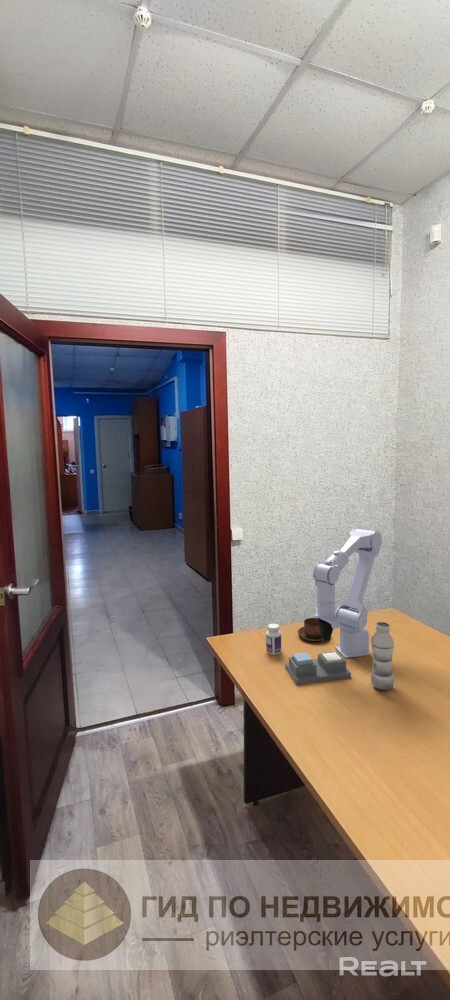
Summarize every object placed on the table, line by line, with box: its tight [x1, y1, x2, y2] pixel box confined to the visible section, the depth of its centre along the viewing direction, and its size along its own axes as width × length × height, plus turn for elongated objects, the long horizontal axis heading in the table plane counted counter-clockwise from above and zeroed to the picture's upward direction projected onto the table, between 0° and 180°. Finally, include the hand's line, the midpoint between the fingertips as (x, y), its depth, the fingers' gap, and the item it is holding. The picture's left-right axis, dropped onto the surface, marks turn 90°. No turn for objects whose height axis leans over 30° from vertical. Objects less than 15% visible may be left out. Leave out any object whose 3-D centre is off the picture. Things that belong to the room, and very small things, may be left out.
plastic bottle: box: [370, 621, 395, 691], centre depth 133 cm, size 6×7×20 cm
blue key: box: [292, 652, 313, 666], centre depth 143 cm, size 5×5×3 cm
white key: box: [322, 651, 342, 662], centre depth 145 cm, size 5×5×3 cm
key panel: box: [284, 650, 352, 686], centre depth 144 cm, size 18×11×4 cm, turn 100°
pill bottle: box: [265, 623, 283, 656], centre depth 159 cm, size 5×5×10 cm
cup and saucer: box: [297, 617, 323, 642], centre depth 170 cm, size 12×12×6 cm
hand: (326, 640), depth 146 cm, fingers closed
